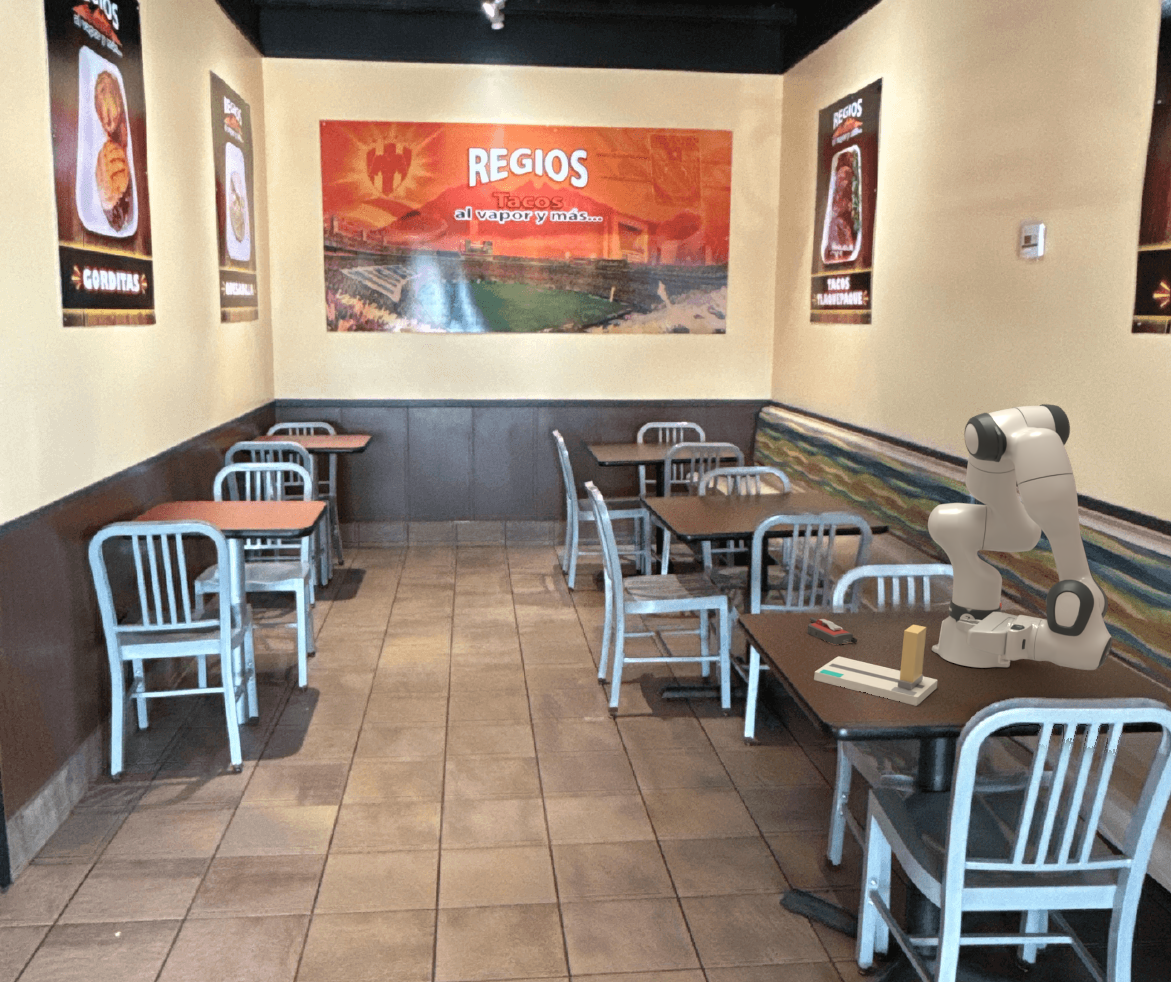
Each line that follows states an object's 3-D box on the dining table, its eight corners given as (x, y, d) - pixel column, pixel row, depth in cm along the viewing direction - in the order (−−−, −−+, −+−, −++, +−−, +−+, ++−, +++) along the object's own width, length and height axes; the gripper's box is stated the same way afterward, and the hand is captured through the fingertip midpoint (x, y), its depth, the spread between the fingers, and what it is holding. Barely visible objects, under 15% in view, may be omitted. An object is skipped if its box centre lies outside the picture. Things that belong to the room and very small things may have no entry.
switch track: (837, 664, 253) (838, 655, 252) (936, 688, 239) (937, 679, 239) (814, 680, 242) (814, 671, 241) (916, 706, 228) (917, 697, 228)
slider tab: (909, 676, 240) (914, 623, 237) (922, 680, 238) (927, 626, 235) (897, 686, 233) (902, 631, 231) (910, 689, 231) (916, 634, 229)
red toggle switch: (863, 645, 269) (813, 622, 287) (864, 628, 268) (814, 607, 286) (837, 649, 265) (787, 626, 283) (838, 632, 264) (788, 610, 282)
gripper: (1038, 612, 227) (973, 600, 235) (1014, 633, 211) (945, 619, 218) (1035, 640, 228) (970, 627, 236) (1010, 662, 212) (942, 648, 219)
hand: (958, 623), depth 227 cm, fingers closed
